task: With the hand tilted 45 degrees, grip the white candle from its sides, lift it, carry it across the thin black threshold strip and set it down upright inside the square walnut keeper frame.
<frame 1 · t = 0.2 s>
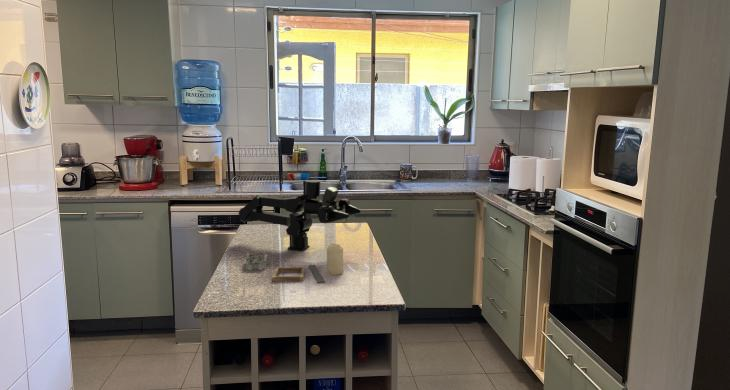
hand: (354, 213, 191), 17 cm above the countertop, tool horizontal, fingers open, 9 cm apart
candle: (335, 273, 176), on the countertop
keeper frame: (289, 276, 172), on the countertop
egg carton: (256, 266, 183), on the countertop
threshold strip: (316, 273, 174), on the countertop
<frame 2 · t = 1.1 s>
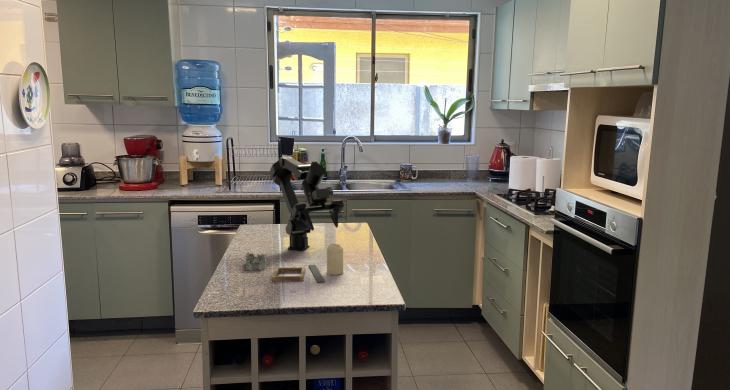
hand: (325, 228, 180), 14 cm above the countertop, tool tilted 45°, fingers open, 9 cm apart
nothing on the countertop moved.
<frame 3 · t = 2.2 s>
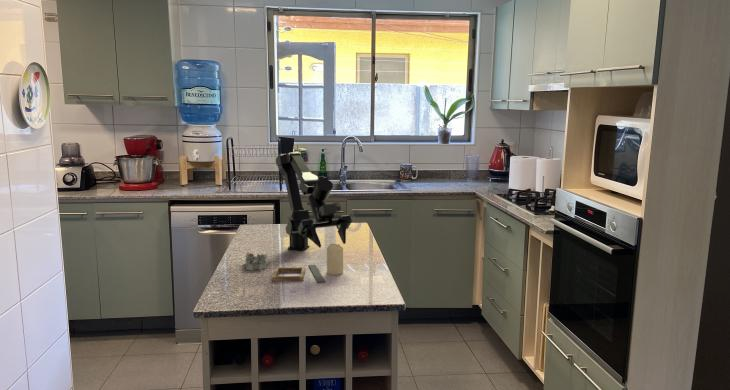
hand: (332, 245, 176), 9 cm above the countertop, tool tilted 45°, fingers open, 9 cm apart
nothing on the countertop moved.
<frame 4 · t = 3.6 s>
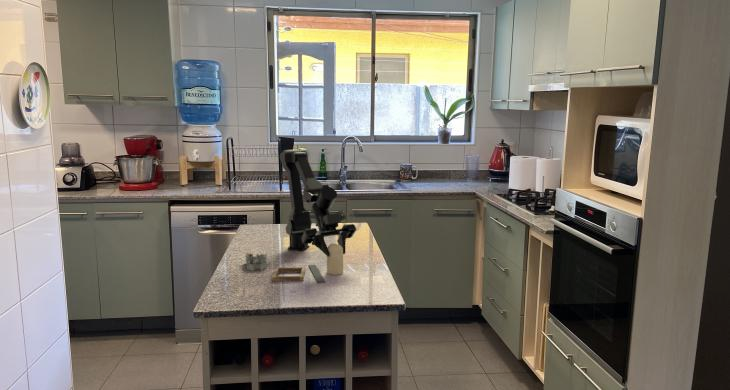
hand: (336, 254, 173), 7 cm above the countertop, tool tilted 45°, fingers closed on candle, 5 cm apart
candle: (335, 272, 176), on the countertop, touching gripper
everything else where it was.
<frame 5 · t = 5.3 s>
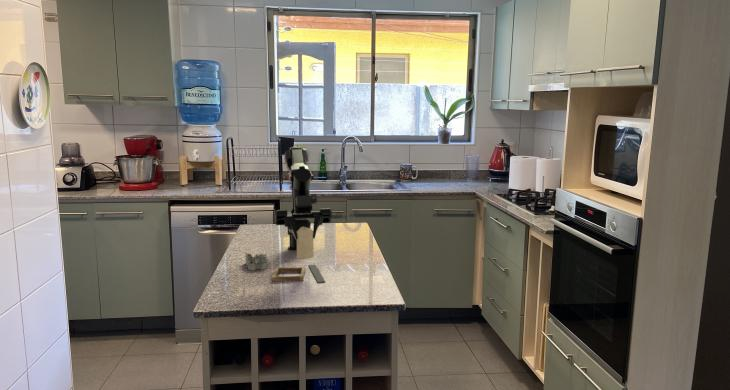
hand: (305, 238, 169), 13 cm above the countertop, tool tilted 45°, fingers closed on candle, 5 cm apart
candle: (305, 257, 171), point 6 cm above the countertop, touching gripper
everything else where it was.
when the fingers open (8 cm above the countertop, at t = 7.1 s): candle drops 1 cm, resting in keeper frame.
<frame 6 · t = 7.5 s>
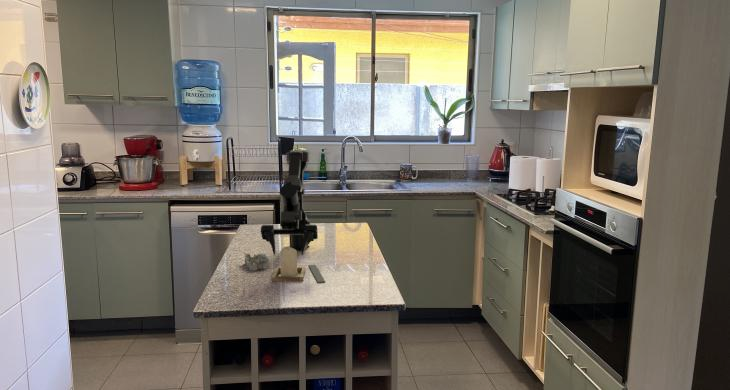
hand: (288, 254, 169), 8 cm above the countertop, tool tilted 45°, fingers open, 9 cm apart
candle: (289, 276, 172), resting in keeper frame
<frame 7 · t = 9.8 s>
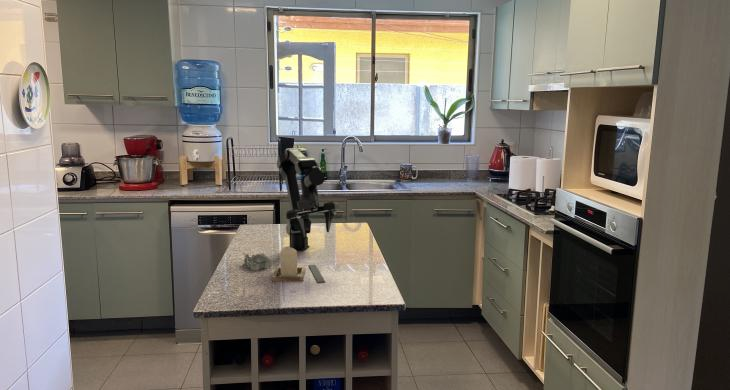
hand: (315, 234, 183), 11 cm above the countertop, tool tilted 20°, fingers open, 9 cm apart
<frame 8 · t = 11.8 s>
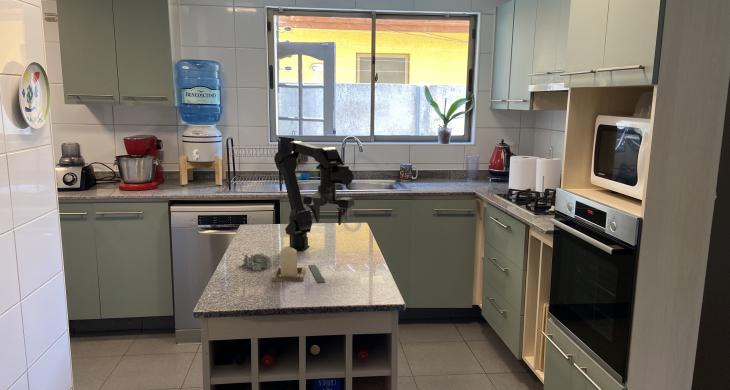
hand: (328, 223, 190), 13 cm above the countertop, tool pointing down, fingers open, 9 cm apart
at the end: candle 0.1 cm off-centre on the keeper frame, point 0.0 cm above the keeper frame's base; candle tilted 0°; the gripper is holding nothing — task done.
